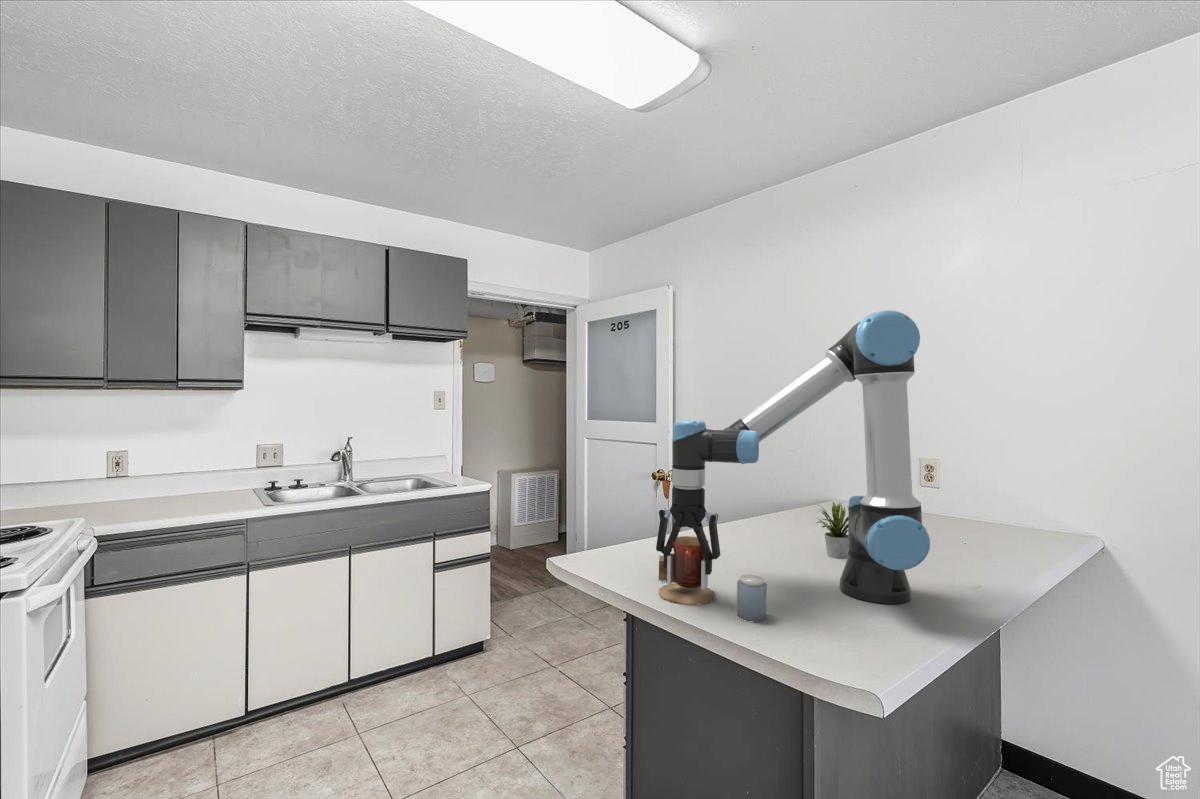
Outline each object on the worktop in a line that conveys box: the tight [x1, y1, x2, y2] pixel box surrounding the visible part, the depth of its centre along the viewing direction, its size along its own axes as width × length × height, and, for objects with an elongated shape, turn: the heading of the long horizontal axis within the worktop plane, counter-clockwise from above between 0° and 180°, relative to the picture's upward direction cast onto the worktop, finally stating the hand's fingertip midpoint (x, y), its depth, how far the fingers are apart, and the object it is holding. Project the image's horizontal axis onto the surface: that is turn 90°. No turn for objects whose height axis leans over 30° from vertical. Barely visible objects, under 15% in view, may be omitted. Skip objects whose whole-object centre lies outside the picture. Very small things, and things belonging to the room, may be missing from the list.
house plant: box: [813, 501, 849, 559], centre depth 166 cm, size 14×14×16 cm
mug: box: [672, 535, 710, 588], centre depth 129 cm, size 12×9×10 cm
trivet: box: [658, 582, 716, 606], centre depth 129 cm, size 13×13×1 cm
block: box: [658, 555, 675, 582], centre depth 142 cm, size 5×5×5 cm
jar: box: [736, 574, 768, 623], centre depth 117 cm, size 6×6×8 cm
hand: (687, 584), depth 129 cm, fingers closed on mug, 7 cm apart
